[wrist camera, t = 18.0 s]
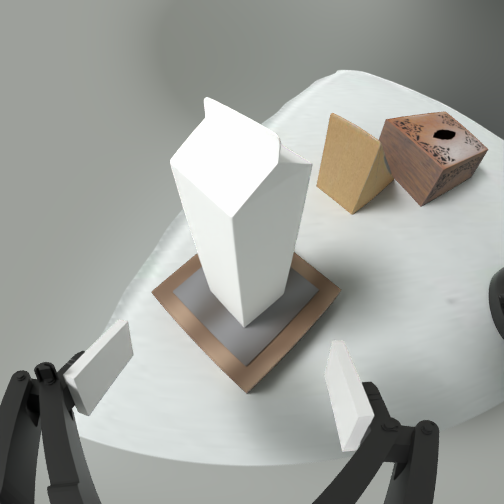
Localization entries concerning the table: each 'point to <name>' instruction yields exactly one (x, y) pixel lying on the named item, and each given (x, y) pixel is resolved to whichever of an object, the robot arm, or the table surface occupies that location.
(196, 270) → the walnut plinth
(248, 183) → the milk
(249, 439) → the table surface
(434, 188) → the tissue box cover
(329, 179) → the sandwich container
